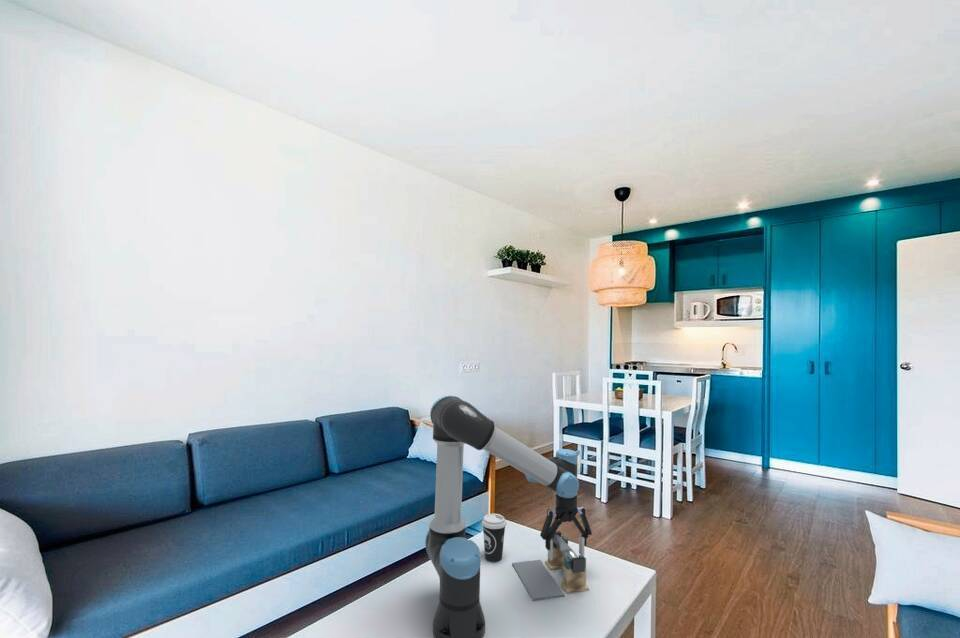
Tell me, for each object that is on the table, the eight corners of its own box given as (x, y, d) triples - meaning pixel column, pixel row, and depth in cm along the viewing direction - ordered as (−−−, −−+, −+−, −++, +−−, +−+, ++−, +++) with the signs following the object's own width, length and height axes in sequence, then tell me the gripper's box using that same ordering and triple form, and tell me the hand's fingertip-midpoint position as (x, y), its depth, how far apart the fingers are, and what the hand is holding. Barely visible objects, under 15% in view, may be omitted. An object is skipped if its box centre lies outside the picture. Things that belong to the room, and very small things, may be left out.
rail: (584, 571, 141) (584, 558, 141) (573, 573, 140) (573, 560, 140) (559, 542, 161) (559, 531, 161) (549, 543, 160) (549, 532, 160)
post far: (550, 570, 154) (550, 542, 154) (545, 563, 158) (545, 536, 159) (570, 567, 155) (570, 540, 156) (564, 560, 160) (565, 534, 161)
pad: (532, 600, 136) (532, 598, 136) (512, 564, 157) (512, 562, 157) (564, 596, 138) (564, 594, 138) (539, 561, 160) (539, 559, 160)
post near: (566, 593, 140) (567, 563, 140) (560, 584, 145) (560, 555, 145) (588, 590, 142) (589, 560, 142) (582, 581, 147) (582, 552, 147)
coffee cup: (504, 565, 156) (504, 524, 157) (478, 562, 158) (479, 521, 159) (507, 553, 165) (508, 514, 166) (483, 550, 167) (484, 511, 168)
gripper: (538, 500, 145) (538, 565, 144) (601, 495, 150) (601, 558, 149) (531, 492, 152) (530, 554, 151) (591, 488, 158) (591, 547, 157)
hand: (566, 556), depth 150 cm, fingers open, 11 cm apart
